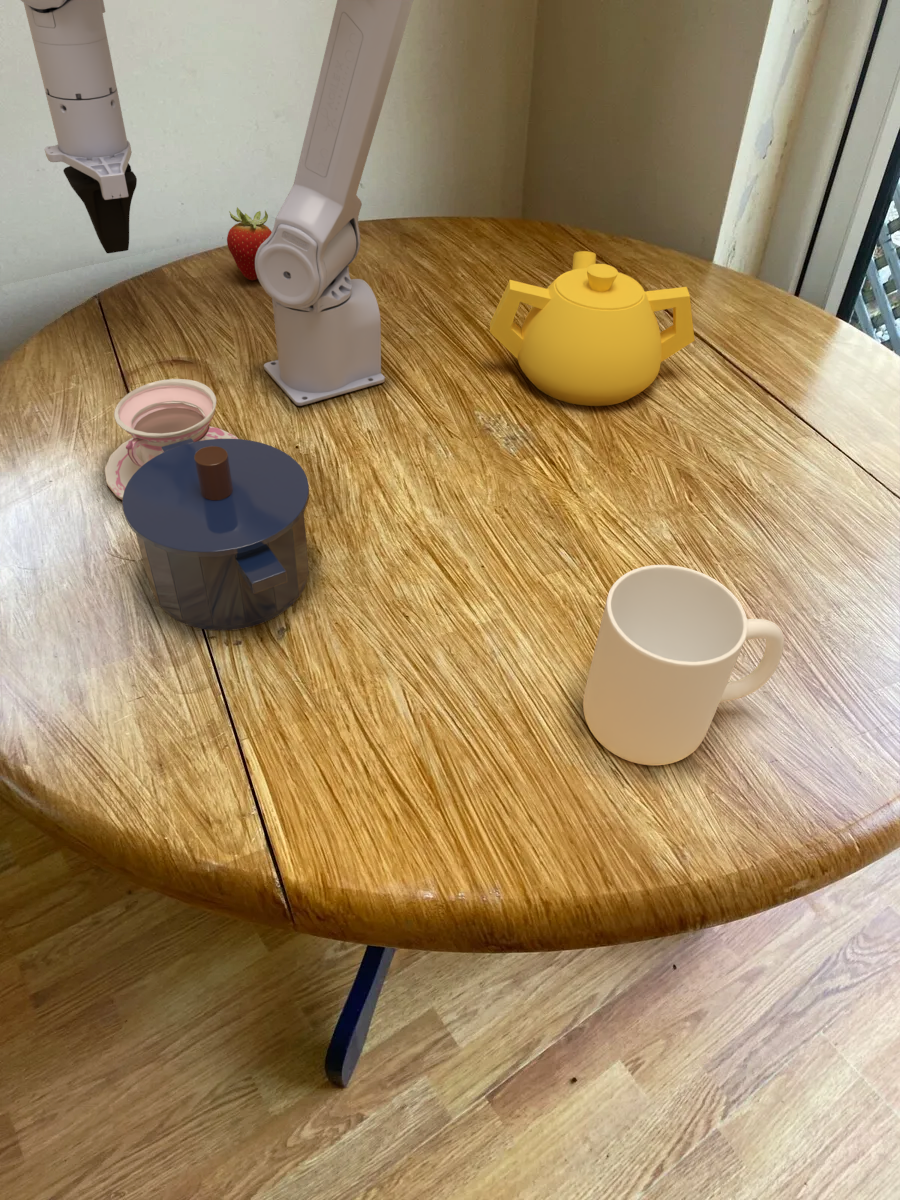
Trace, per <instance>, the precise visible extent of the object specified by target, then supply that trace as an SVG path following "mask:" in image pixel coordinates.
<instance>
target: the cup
mask: <svg viewBox="0 0 900 1200" xmlns="http://www.w3.org/2000/svg"><path fill="white" fill-rule="evenodd" d="M761 639H763V640H764V639H765V647H764V652H763V654H762V655H763V656H762V658H761V660H760V661H759V663H758V665H757V666H756V667H755V668H754V669H753V670H752V671H751V673H749V674H748V675H746V676H744V677H742V678H740V679H737V680H733V681H729V680H730V678H731V676H732V673H733V670H734V668H735V666H736V664H737V661H738V659H739V656H740V654H741V651H742V649H743V647H744V644H745V642H746V641H750V640H761ZM784 648H785V637H784V633H783V630H782V629H781V627H780V626H779V625H778V624H777V623H775V622H774V621H772V620H769V619H765V618H747V614H746V612H745V609H744V607H743V605H742V603H741V602H740V601H739V598H737V596H736V595H735V594H734V593H733V592H732V591H731V590H730V589H729V588H727V587H726V586H725V585H724V584H722V582H720V581H718V580H717V579H715V578H713V577H711V576H710V575H708V574H706V573H703V572H701V571H698V570H695V569H692V568H688V567H684V566H679V565H672V564H651V565H645V566H641V567H638V568H634V569H632V570H630V571H627V572H625V573H624V574H623V575H621V576H620V577H619V578H618V579H616V581H614V583H613V584H612V586H611V587H610V589H609V590H608V593H607V597H606V601H605V605H604V609H603V613H602V618H601V621H600V626H599V630H598V633H597V639H596V642H595V646H594V651H593V655H592V659H591V663H590V667H589V670H588V675H587V679H586V680H587V681H586V683H585V688H584V693H583V699H582V700H583V701H582V702H583V703H582V706H583V707H582V710H583V715H584V720H585V722H586V725H587V727H588V729H589V730H590V732H591V734H592V735H593V737H594V739H596V741H598V743H600V745H602V746H603V747H604V748H605V749H606V750H607V751H608V752H610V753H612V754H613V755H615V756H617V757H619V758H620V759H622V760H625V761H628V762H630V763H633V764H638V765H644V766H663V765H664V766H665V765H669V764H673V763H677V762H679V761H681V760H684V759H685V758H687V757H689V756H690V755H692V754H693V753H694V752H695V751H697V749H698V748H699V747H700V745H701V744H702V742H703V741H704V739H705V737H706V735H707V734H708V732H709V729H710V727H711V725H712V722H713V719H714V717H715V714H716V712H717V709H718V707H719V705H720V703H724V702H725V703H726V702H729V701H734V700H735V701H736V700H739V699H743V698H745V697H747V696H749V695H751V694H753V693H755V692H756V691H758V690H760V689H761V688H762V687H763V686H765V685H766V684H767V682H769V680H770V679H771V678H772V676H773V675H774V674H775V672H776V670H777V669H778V667H779V664H780V662H781V659H782V656H783V653H784Z"/></svg>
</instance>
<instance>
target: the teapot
mask: <svg viewBox="0 0 900 1200" xmlns="http://www.w3.org/2000/svg"><path fill="white" fill-rule="evenodd" d="M520 303H523V304H525V305H529V306H531V308H530V309H529V311H528V312H527V315H526V316H525V319H524V321H523V322H522V325H521V327H520V326H519V325H518V324H516V322H514V320H515V317H516V314H517V311H518V309H519V306H520ZM670 309H672V325H671V326H669V327H667V328H665V329H663V330H662V331H661V330H660V326H659V322H658V320H657V316H656V313H655V312H659V311H665V310H670ZM693 322H694V321H693V311H692V304H691V295H690V292H689V290H688V286H681V287H680V286H679V287H672V288H663V289H654V290H647V291H645V289H644V287H643V286H642V285H641V284H640V283H639V282H638V281H637V280H636V279H634V278H633V277H631V276H630V275H627V274H624V273H622V272H619V271H618V269H617V268H616V267H614V266H612V265H609V264H607V263H597V253H595V252H592V251H586V250H583V251H576V252H573V257H572V267H571V270H567V271H565V272H564V273H562V274H560V275H559V276H558V277H556V278H555V279H554V280H553V281H552V282H551V283H550V284H549V285H548V287H546V288H545V287H541V286H537V285H534V284H529V283H525V282H520V281H517V280H513V279H509V280H508V282H507V285H506V287H505V289H504V291H503V293H502V296H501V298H500V300H499V302H498V304H497V306H496V309H495V310H494V313H493V315H492V317H491V319H490V322H489V333H490V334H491V335H492V336H493V337H494V338H495V339H496V340H497V341H498V342H499V343H500V344H501V345H502V346H503V347H504V348H505V349H506V350H507V351H508V352H510V354H512V356H513V357H514V358H515V359H516V360H517V363H518V365H519V367H520V369H521V370H522V372H523V374H524V375H525V377H527V379H528V380H529V382H531V383H532V384H533V386H534V387H535V388H536V389H538V390H539V391H540V392H541V393H544V394H545V395H547V396H549V397H551V398H552V399H555V400H558V401H560V402H564V403H567V404H571V405H577V406H584V407H605V406H613V405H618V404H620V403H624V402H627V401H628V400H631V399H632V398H633V397H636V396H638V395H639V394H641V393H642V392H643V391H645V389H647V388H649V387H650V386H651V385H652V384H653V383H654V381H655V380H656V379H657V377H658V375H659V373H660V369H661V364H662V362H664V361H665V360H667V359H669V358H670V357H672V356H673V355H675V354H676V353H678V352H679V351H681V350H683V349H684V348H686V347H687V346H688V345H690V344H692V343H693V342H695V341H696V340H695V332H694V331H695V330H694V323H693Z"/></svg>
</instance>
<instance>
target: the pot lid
mask: <svg viewBox="0 0 900 1200" xmlns="http://www.w3.org/2000/svg"><path fill="white" fill-rule="evenodd" d="M309 499H310V485H309V480H308V477H307V474H306V471H304V469H303V467H302V466H301V464H299V463H298V461H296V460H295V458H293V457H292V456H291V455H289V454H288V453H286V452H285V451H283V450H281V449H279V448H278V447H274V446H272V445H269V444H266V443H263V442H260V441H254V440H251V439H250V440H249V439H243V438H238V439H210V440H203V441H197V442H192V443H188V444H184V445H181V446H178V447H175V448H172V449H170V450H168V451H165V452H163V453H161V454H159V455H158V456H156V457H154V458H152V459H151V460H149V461H148V462H146V463H145V464H144V465H143V466H142V467H140V468H139V469H138V470H137V471H136V472H135V474H134V475H133V476H132V477H131V479H130V480H129V482H128V483H127V486H126V488H125V490H124V494H123V500H122V502H121V503H122V510H123V515H124V518H125V520H126V522H127V525H128V526H129V528H130V529H131V530H132V532H133V533H135V535H136V534H137V535H138V536H139V537H140V538H141V539H143V540H144V541H145V542H147V543H148V544H150V545H152V546H154V547H156V548H159V549H161V550H164V551H167V552H170V553H174V554H179V555H185V556H193V557H218V556H227V555H233V554H238V553H243V552H246V551H249V550H253V549H256V548H258V547H261V546H263V545H266V544H268V543H269V542H271V541H273V540H275V539H277V538H278V537H280V536H282V535H283V534H285V533H286V532H287V531H288V530H289V529H291V528H292V527H293V526H294V525H295V524H296V523H297V521H298V520H299V519H300V518H301V516H302V515H303V513H304V514H305V511H306V509H307V506H308V503H309Z"/></svg>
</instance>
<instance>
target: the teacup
mask: <svg viewBox="0 0 900 1200" xmlns="http://www.w3.org/2000/svg"><path fill="white" fill-rule="evenodd" d="M216 407H217V397H216V394H215V393H214V391H213V390H212V388H210V387H209V386H208V385H206V384H205V383H203V382H201V381H197V380H192V379H187V378H167V379H162V380H160V379H159V380H157V381H153V382H148V383H146V384H143V385H141V386H138V387H136V388H135V389H133V390H131V391H130V392H128V393H127V394H125V395H124V396H123V397H122V398H121V399H120V400H119V401H118V403H117V404H116V406H115V408H114V412H113V418H114V421H115V423H116V424H117V426H118V427H120V428H121V429H122V430H123V431H125V432H126V433H128V434H129V435H130V436H131V437H130V438H129V439H127V440H126V441H124V442H122V443H121V444H120V445H119V446H118V447H117V448H116V449H115V450H114V451H113V452H112V453H111V454H110V455H109V458H108V460H107V462H106V464H105V468H104V475H105V480H106V485H107V487H108V488H109V490H111V492H112V493H113V495H114V496H115V497H116V498H118V499H119V500H121V501H123V494H124V490H125V488H126V486H127V483H128V482H129V480H130V479H131V477H132V476H133V475H134V474H135V472H136V471H137V470H138V469H139V468H140V467H142V466H143V465H144V464H145V463H146V462H148V461H149V460H151V459H152V458H154V457H156V456H158V455H159V454H161V453H162V448H161V447H163V446H166V445H170V444H173V443H177V442H180V441H184V440H187V439H192V440H193V441H194V442H197V441H203V440H210V439H239V437H237V436H236V435H235V434H233V433H230V432H228V431H227V430H225V429H223V428H220V427H214V426H211V425H210V423H212V420H213V419H214V416H215V414H216Z"/></svg>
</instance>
